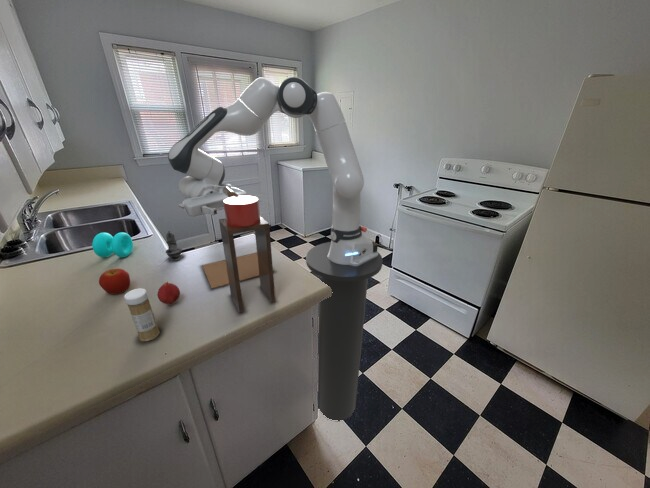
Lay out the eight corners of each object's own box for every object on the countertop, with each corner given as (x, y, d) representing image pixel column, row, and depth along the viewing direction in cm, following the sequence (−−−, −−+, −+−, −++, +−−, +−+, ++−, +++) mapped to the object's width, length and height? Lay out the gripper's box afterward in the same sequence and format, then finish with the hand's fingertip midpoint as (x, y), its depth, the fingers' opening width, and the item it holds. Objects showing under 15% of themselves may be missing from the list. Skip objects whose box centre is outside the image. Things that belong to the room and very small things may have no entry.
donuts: (112, 250, 114) (104, 228, 110) (137, 250, 114) (130, 228, 110) (95, 262, 105) (86, 238, 101) (122, 261, 105) (114, 238, 101)
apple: (110, 301, 83) (102, 279, 79) (99, 293, 86) (91, 272, 83) (137, 289, 89) (130, 268, 85) (126, 282, 92) (119, 262, 89)
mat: (257, 253, 114) (257, 252, 114) (274, 272, 100) (274, 271, 100) (202, 266, 103) (202, 265, 103) (211, 289, 89) (211, 288, 89)
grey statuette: (185, 254, 112) (178, 227, 107) (182, 260, 107) (175, 232, 102) (169, 255, 110) (162, 228, 105) (165, 262, 105) (158, 234, 100)
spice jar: (160, 327, 73) (146, 285, 67) (159, 338, 69) (145, 295, 63) (140, 333, 71) (124, 290, 65) (138, 345, 67) (122, 300, 61)
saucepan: (241, 203, 90) (239, 184, 87) (265, 223, 73) (263, 200, 70) (213, 207, 85) (210, 187, 83) (231, 229, 68) (227, 205, 66)
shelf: (263, 286, 91) (257, 213, 81) (275, 301, 84) (269, 223, 73) (231, 295, 86) (218, 219, 75) (239, 313, 78) (227, 230, 68)
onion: (156, 308, 80) (149, 286, 76) (169, 297, 85) (163, 275, 82) (174, 310, 79) (168, 288, 76) (186, 299, 84) (180, 277, 81)
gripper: (174, 194, 84) (193, 207, 76) (233, 182, 97) (255, 192, 89) (178, 213, 87) (197, 227, 79) (235, 199, 100) (257, 210, 92)
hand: (229, 208), depth 84 cm, fingers open, 8 cm apart
